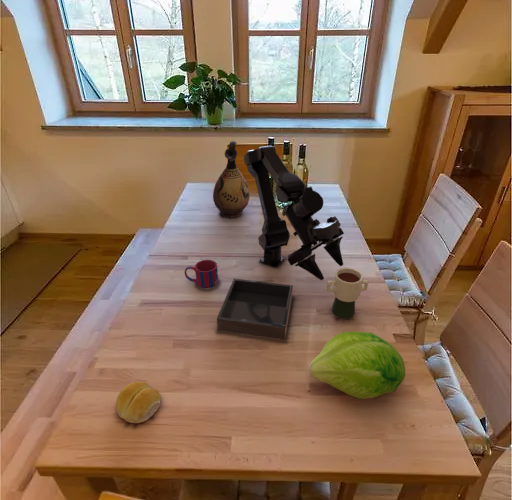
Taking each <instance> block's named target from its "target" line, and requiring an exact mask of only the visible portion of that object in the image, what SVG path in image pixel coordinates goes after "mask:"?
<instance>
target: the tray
mask: <svg viewBox="0 0 512 500" xmlns="http://www.w3.org/2000/svg"><path fill="white" fill-rule="evenodd" d="M293 293H294V285H293V284H287V283H286V284H285V283H276V282H268V281H267V282H266V281H260V280H251V279H241V278H232V282H231V284H230V287H229V289H228V291H227V293H226V296H225V298H224V300H223V303H222V305H221V308H220V311H219V312H218V315H217V317H216V325H217V326H216V327H217V331H220V332H228V333H236V334H242V335H248V336H249V335H250V336H255V337H263V338H270V339H277V340H286V336H287V331H288V323H289V319H290V312H291V306H292V301H293Z"/></svg>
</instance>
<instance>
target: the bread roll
mask: <svg viewBox="0 0 512 500" xmlns="http://www.w3.org/2000/svg"><path fill="white" fill-rule="evenodd" d="M161 398H162V395H161V393H160V391H159V390H158V389H156V388H154V387H151V386H150V385H149V384H148V383H147V382H145V381H139V380H138V381H133V382H131V383H129V384H127V385H125V386H124V387H123V388H121V390H120V391H119V393H118V394H117V396H116V400H115V401H116V403H115V408H116V409H115V410H116V412H117V414H118V416H119V418H121V419H123V420H124V421H126V422H128V423H130V424H141V423H143V422H146V421H148V420H149V419H150V418H151V417H152V416H154V415H155V413H156V412H157V411H158V410H159V408H160V407H161Z"/></svg>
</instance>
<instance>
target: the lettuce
mask: <svg viewBox="0 0 512 500" xmlns="http://www.w3.org/2000/svg"><path fill="white" fill-rule="evenodd" d="M405 365H406V364H405V361H404V358H403V356H402V355H401V353H400V352H399V351H398V350H397V349H396V348H395V346H393V344H391V343H389V342H388V341H387V340H385V339H384V338H382V337H380V336H378V335H377V334H375V333H374V332H370V331H369V332H368V331H342V332H340V333H337V334H335V335H334V336H333V337H331V338H330V339H329V340H328V341H327V342H326V344H325V345H324V347H323V348H322V350H321V352H319V353H318V354H317V355H316V356H315V357H314V359H313V360H311V362H310V363H309V365H308V374H309V377H310V378H313V379H314V380H317V381H320V382H323V383H325V384H327V385H329V386H331V387H333V388H335V389H337V390H338V391H340V392H342V393H344V394H346V395H347V396H349V397H352V398H354V399H358V400H359V401H360V400H365V399H376V398H377V397H380V396H381V395H383V394H388V393H393V392H396V391H397V390H398V388H399V387H400V386H401V385H402V383H403V382H404V380H405V378H406V366H405Z"/></svg>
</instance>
